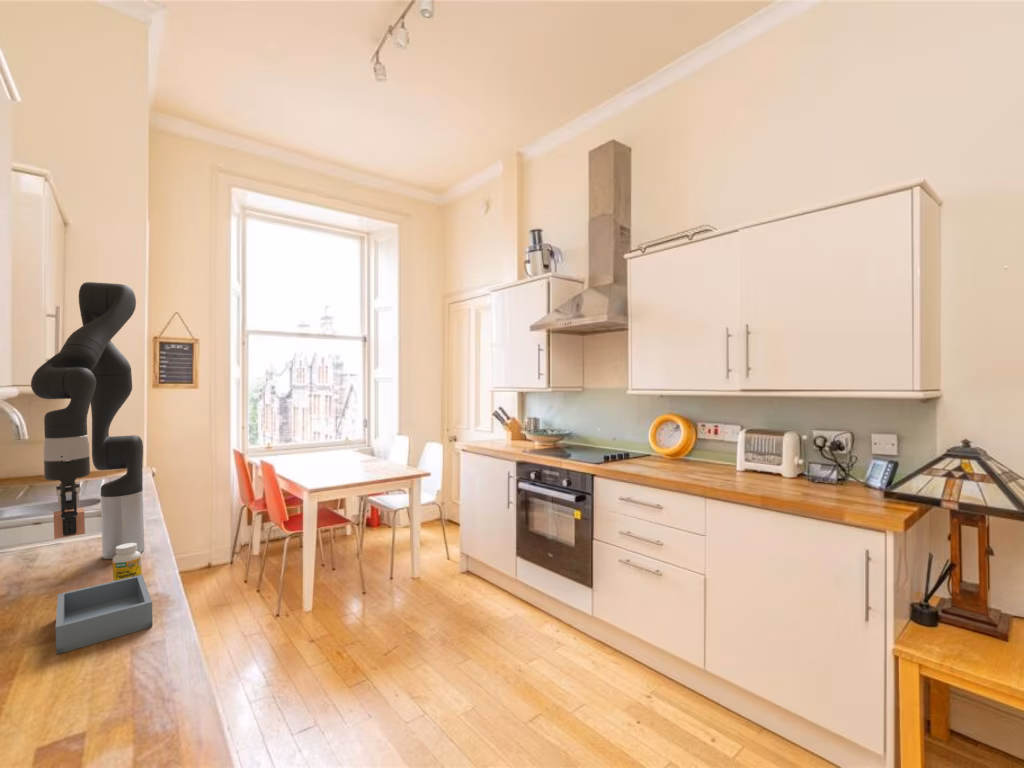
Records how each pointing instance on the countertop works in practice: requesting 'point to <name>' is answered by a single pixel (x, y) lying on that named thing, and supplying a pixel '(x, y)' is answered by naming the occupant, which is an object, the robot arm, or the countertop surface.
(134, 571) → the supplement bottle
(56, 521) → the terracotta cube
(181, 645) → the countertop surface
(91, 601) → the tote
